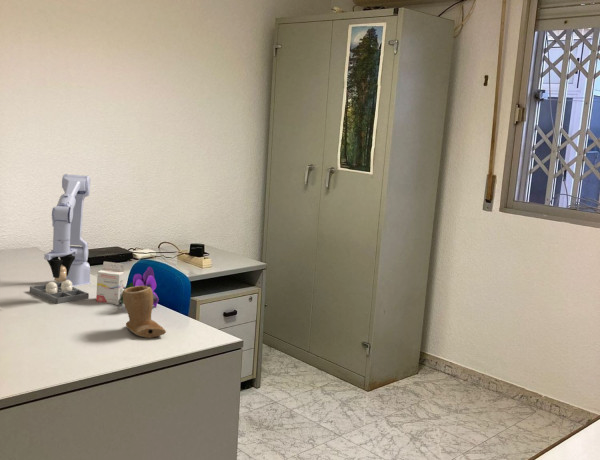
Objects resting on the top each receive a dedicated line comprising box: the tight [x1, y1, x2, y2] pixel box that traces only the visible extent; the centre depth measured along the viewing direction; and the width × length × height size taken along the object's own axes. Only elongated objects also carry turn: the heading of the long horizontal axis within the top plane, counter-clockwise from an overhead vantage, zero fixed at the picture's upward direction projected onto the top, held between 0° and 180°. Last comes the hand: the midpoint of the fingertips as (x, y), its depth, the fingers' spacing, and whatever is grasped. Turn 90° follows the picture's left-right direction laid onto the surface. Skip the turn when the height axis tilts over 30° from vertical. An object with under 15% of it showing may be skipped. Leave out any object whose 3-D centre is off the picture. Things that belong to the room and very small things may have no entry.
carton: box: [29, 282, 90, 305], centre depth 243 cm, size 13×19×2 cm
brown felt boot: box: [122, 286, 167, 339], centre depth 211 cm, size 15×12×15 cm
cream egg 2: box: [61, 280, 73, 292], centre depth 245 cm, size 4×4×6 cm
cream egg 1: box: [46, 281, 57, 294], centre depth 240 cm, size 4×4×6 cm
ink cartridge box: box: [95, 261, 125, 306], centre depth 240 cm, size 9×5×15 cm, turn 83°
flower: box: [120, 266, 160, 308], centre depth 239 cm, size 15×15×14 cm
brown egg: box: [53, 265, 66, 283], centre depth 235 cm, size 4×4×6 cm
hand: (60, 276), depth 235 cm, fingers closed on brown egg, 4 cm apart
